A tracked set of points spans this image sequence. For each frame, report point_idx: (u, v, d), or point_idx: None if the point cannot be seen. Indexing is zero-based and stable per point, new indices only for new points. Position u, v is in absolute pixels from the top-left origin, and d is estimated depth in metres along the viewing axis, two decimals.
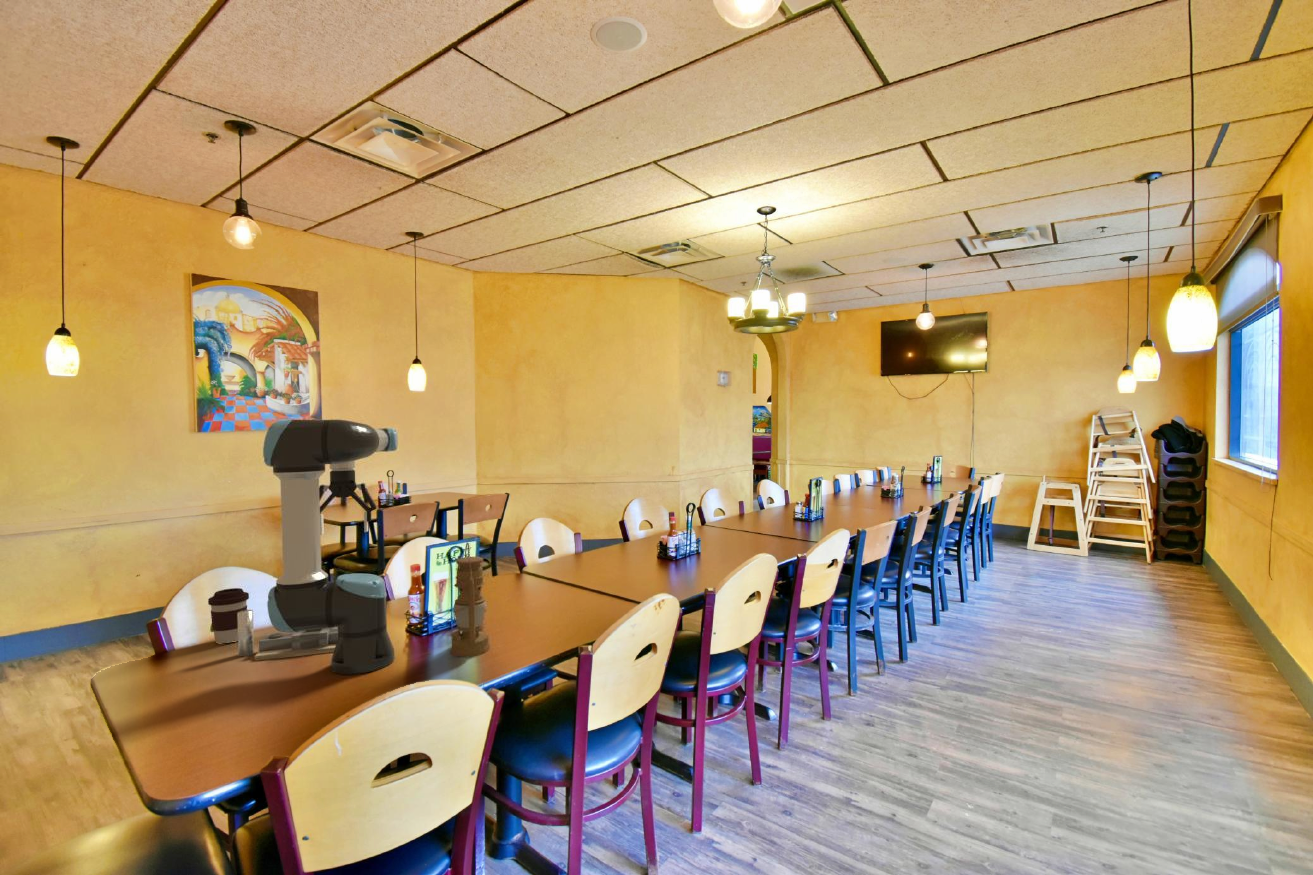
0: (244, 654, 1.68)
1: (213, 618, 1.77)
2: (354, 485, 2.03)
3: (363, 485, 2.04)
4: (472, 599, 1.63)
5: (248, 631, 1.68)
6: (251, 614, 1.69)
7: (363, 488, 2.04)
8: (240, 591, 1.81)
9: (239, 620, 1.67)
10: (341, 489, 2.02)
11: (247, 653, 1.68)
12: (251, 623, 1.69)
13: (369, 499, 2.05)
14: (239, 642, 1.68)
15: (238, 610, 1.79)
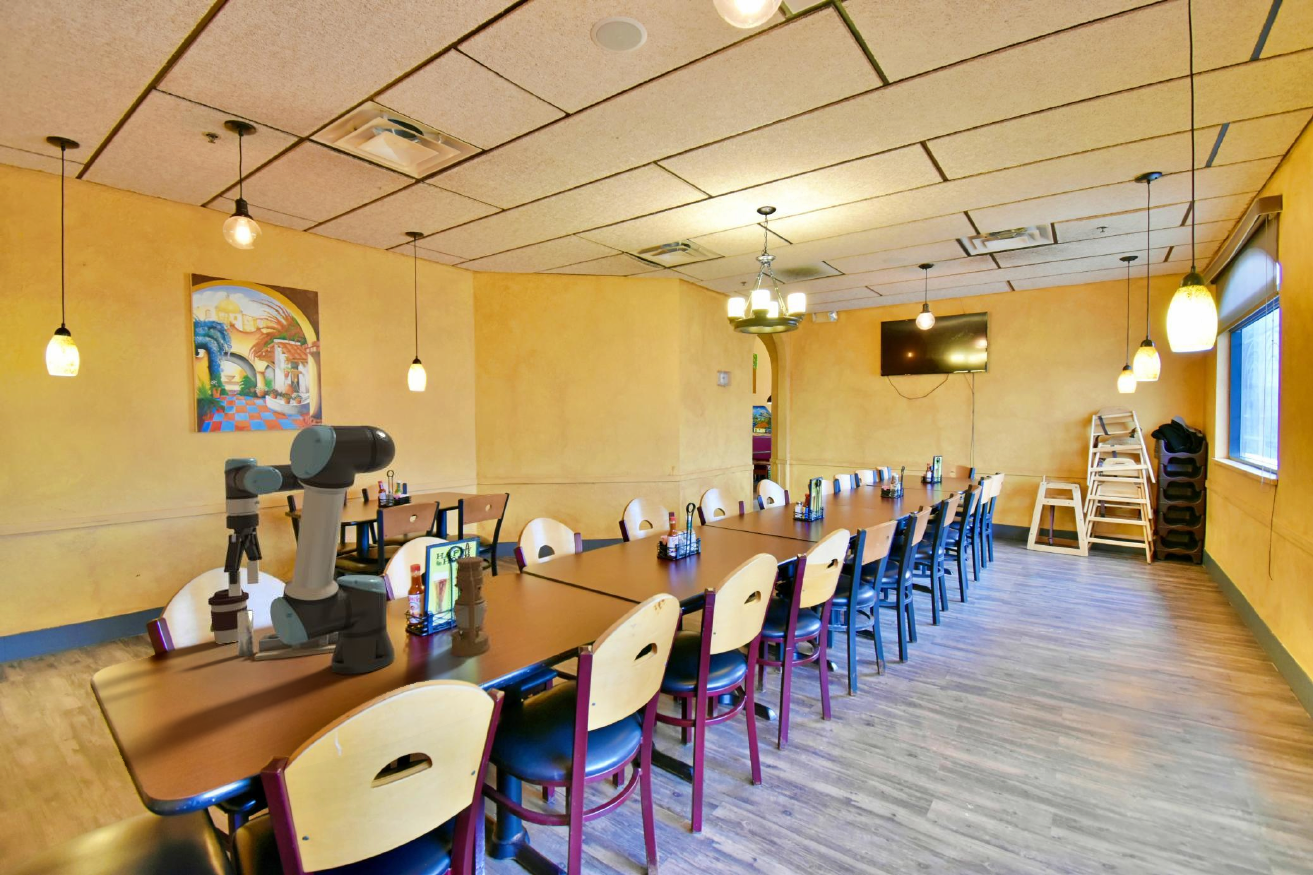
0: (244, 654, 1.68)
1: (213, 618, 1.77)
2: None
3: None
4: (472, 599, 1.63)
5: (248, 631, 1.68)
6: (251, 614, 1.69)
7: None
8: None
9: (239, 620, 1.67)
10: None
11: (247, 653, 1.68)
12: (251, 623, 1.69)
13: None
14: (239, 642, 1.68)
15: (238, 610, 1.79)
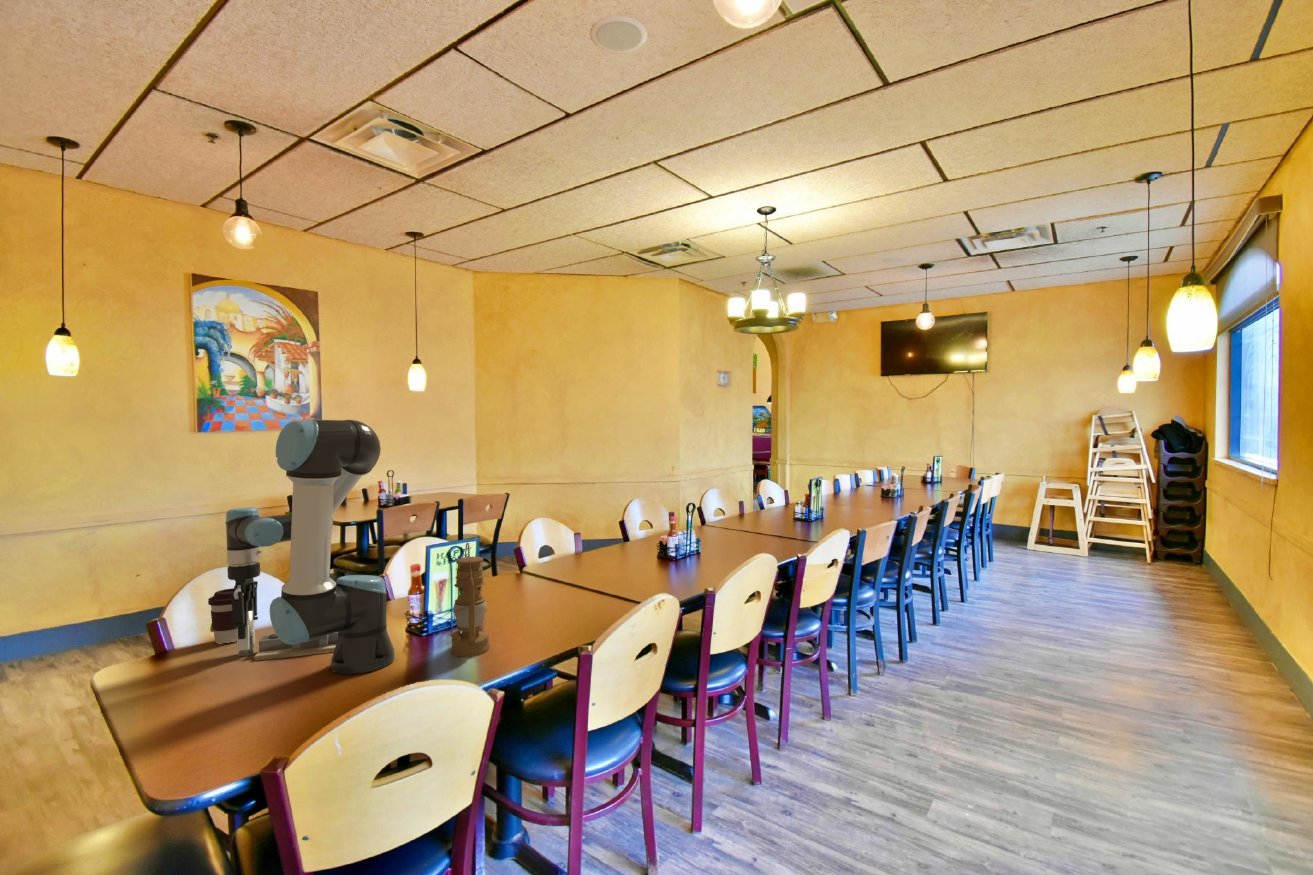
0: (244, 654, 1.67)
1: (213, 618, 1.77)
2: (235, 587, 1.65)
3: (231, 595, 1.63)
4: (472, 599, 1.63)
5: None
6: (251, 614, 1.69)
7: None
8: None
9: None
10: None
11: (247, 653, 1.68)
12: (251, 623, 1.69)
13: None
14: None
15: None
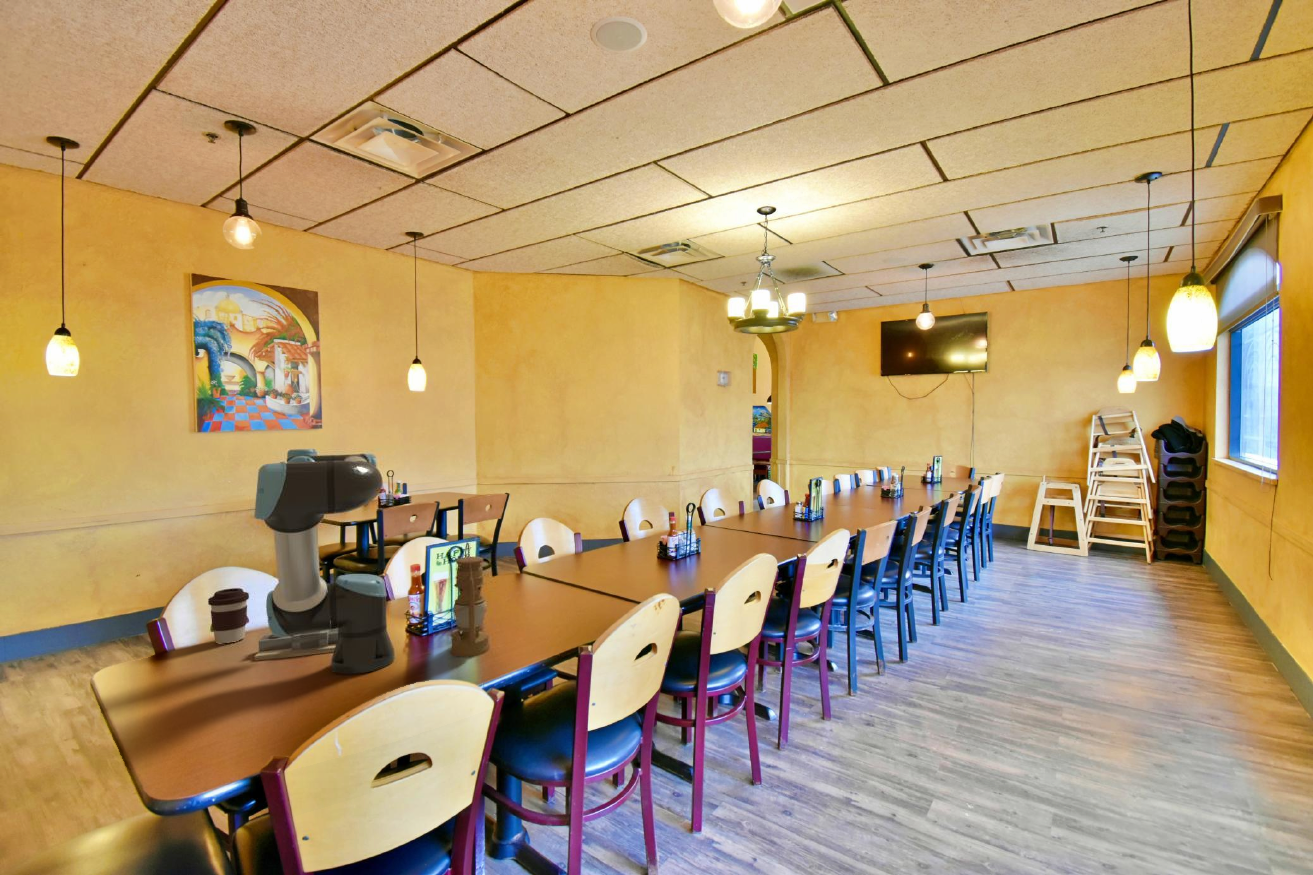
0: None
1: (213, 618, 1.77)
2: None
3: None
4: (472, 599, 1.63)
5: None
6: None
7: None
8: (240, 591, 1.81)
9: None
10: None
11: None
12: None
13: None
14: None
15: (238, 610, 1.79)
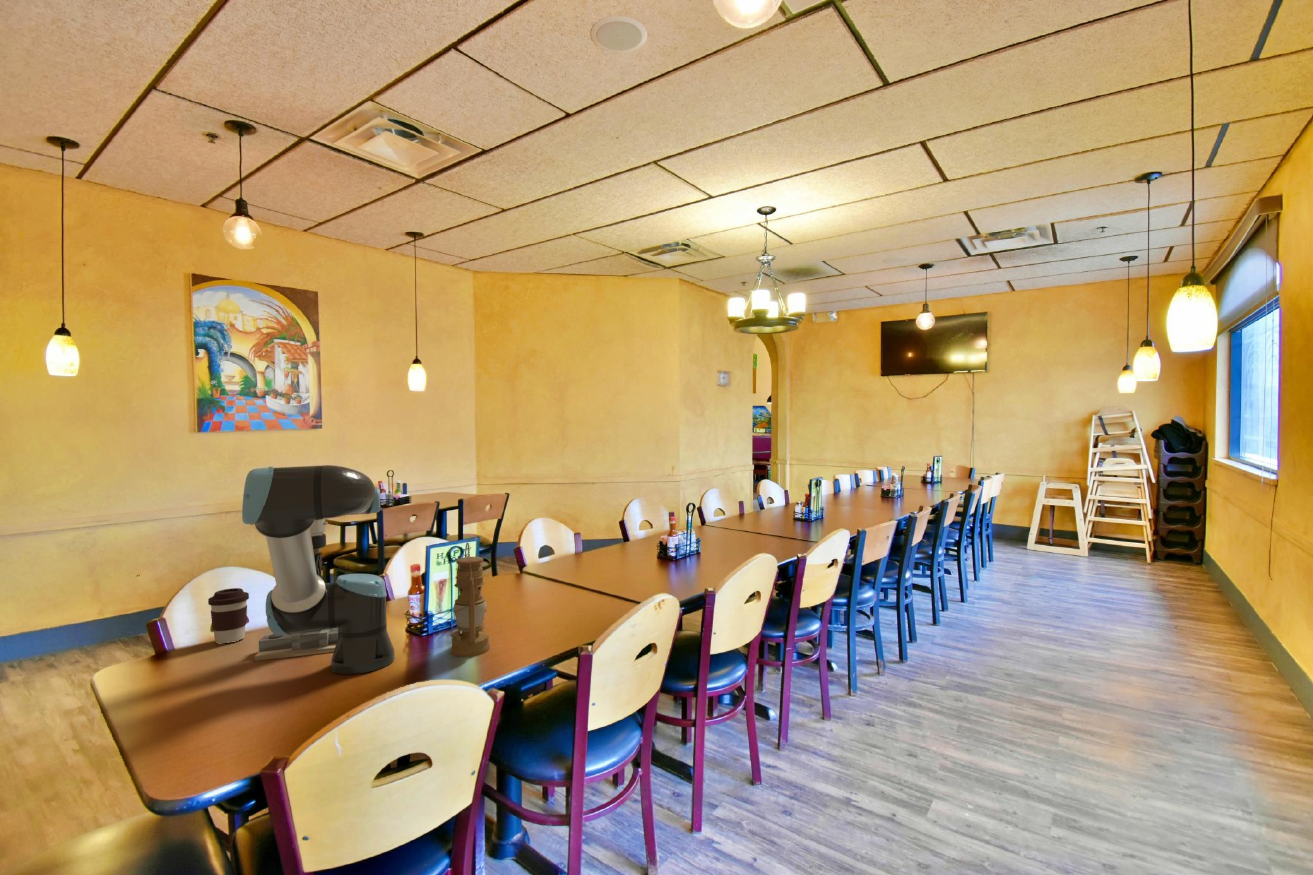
0: None
1: (213, 618, 1.77)
2: None
3: None
4: (472, 599, 1.63)
5: None
6: None
7: None
8: (240, 591, 1.81)
9: None
10: None
11: None
12: None
13: None
14: None
15: (238, 610, 1.79)
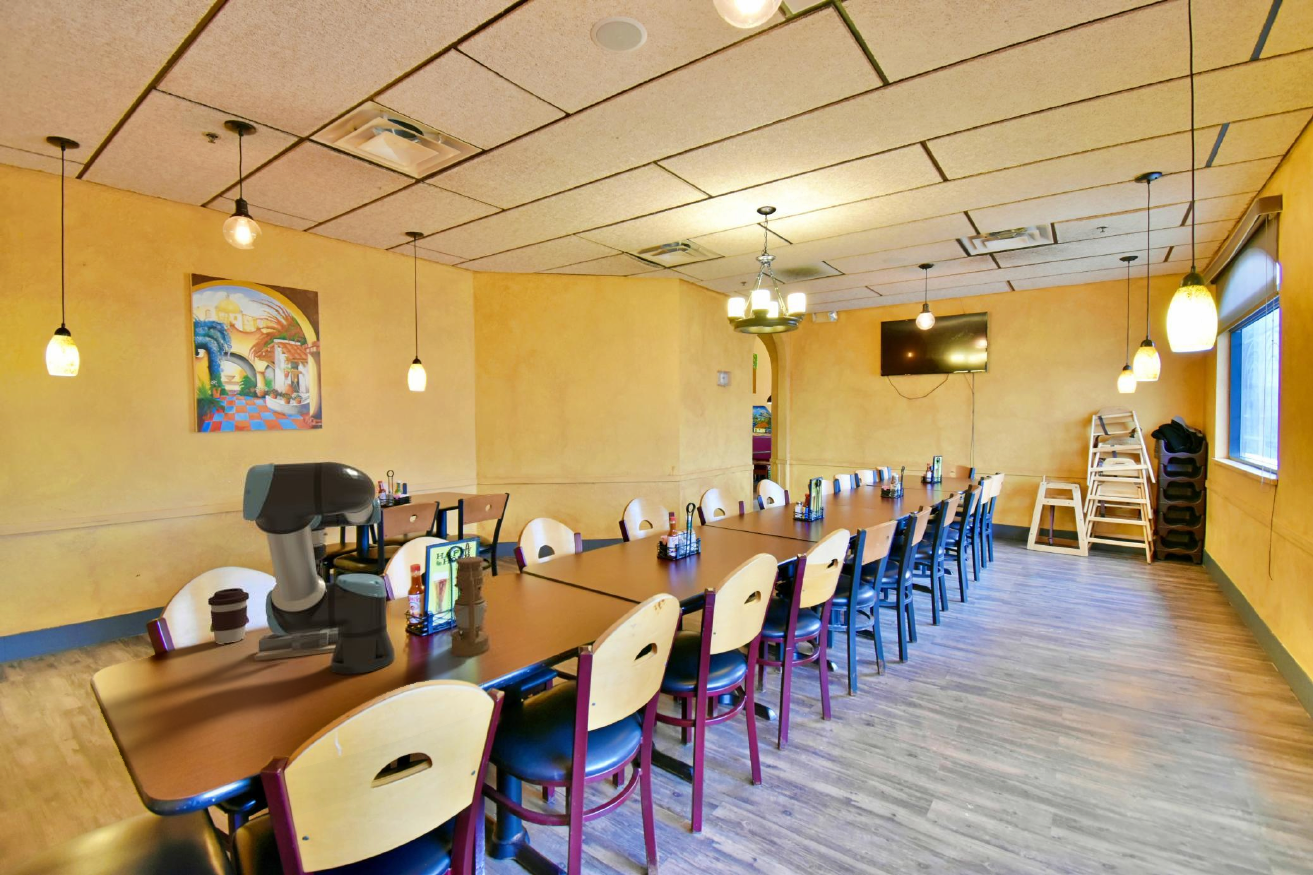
0: None
1: (213, 618, 1.77)
2: None
3: None
4: (472, 599, 1.63)
5: None
6: None
7: None
8: (240, 591, 1.81)
9: None
10: None
11: None
12: None
13: None
14: None
15: (238, 610, 1.79)
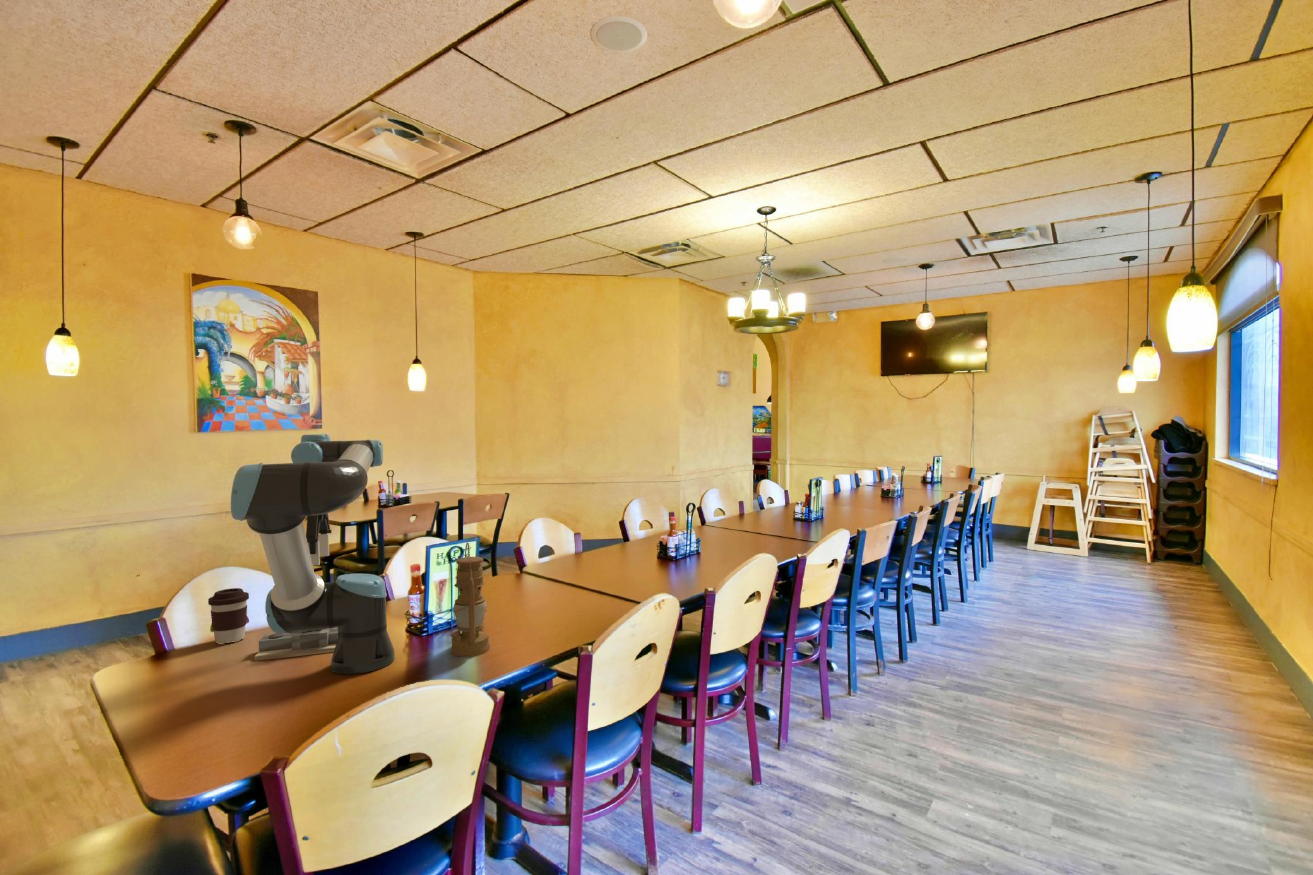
0: None
1: (213, 618, 1.77)
2: None
3: None
4: (472, 599, 1.63)
5: None
6: None
7: None
8: (240, 591, 1.81)
9: None
10: None
11: None
12: None
13: None
14: (308, 631, 1.72)
15: (238, 610, 1.79)
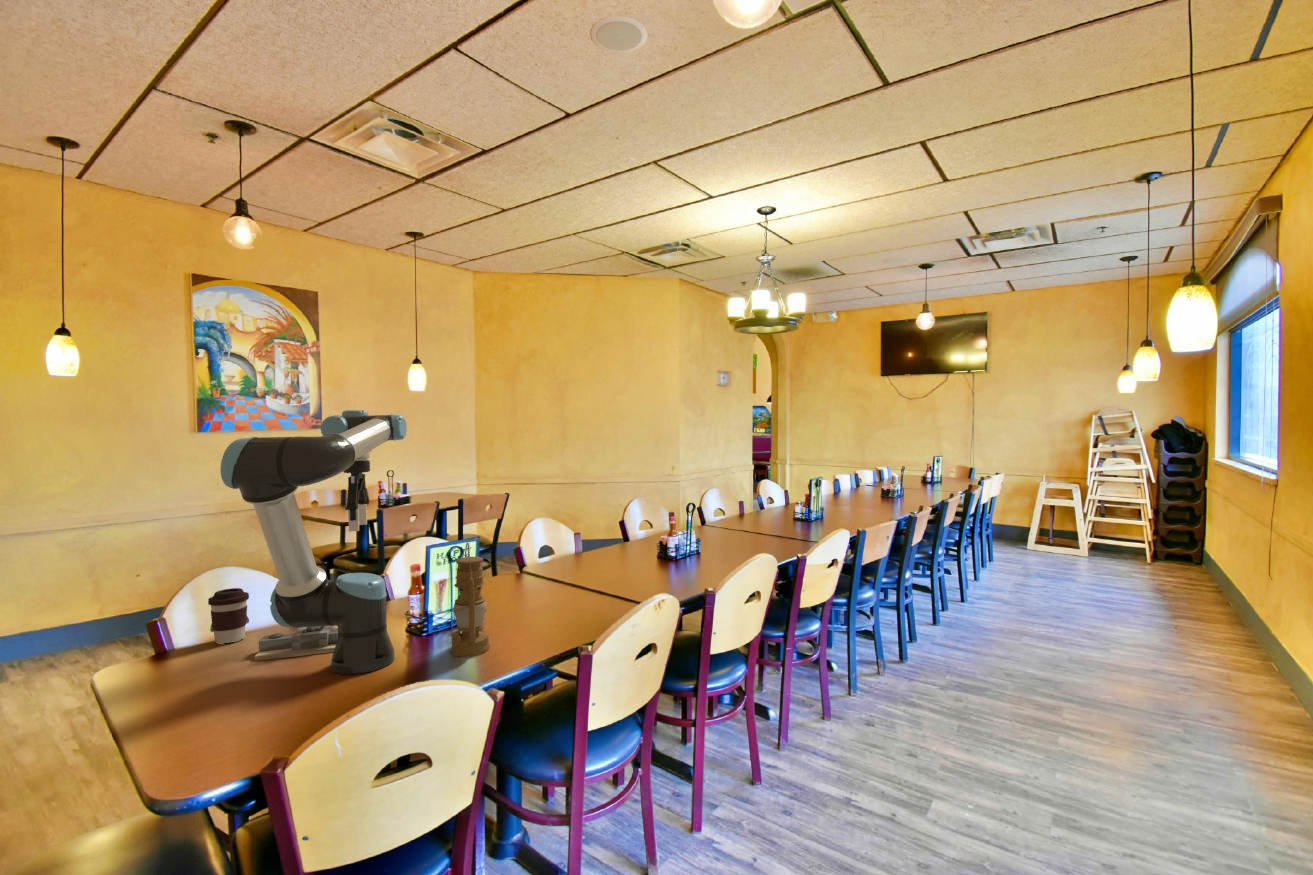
0: None
1: (213, 618, 1.77)
2: None
3: (348, 479, 1.82)
4: (472, 599, 1.63)
5: None
6: None
7: None
8: (240, 591, 1.81)
9: None
10: None
11: None
12: None
13: None
14: (308, 631, 1.72)
15: (238, 610, 1.79)
